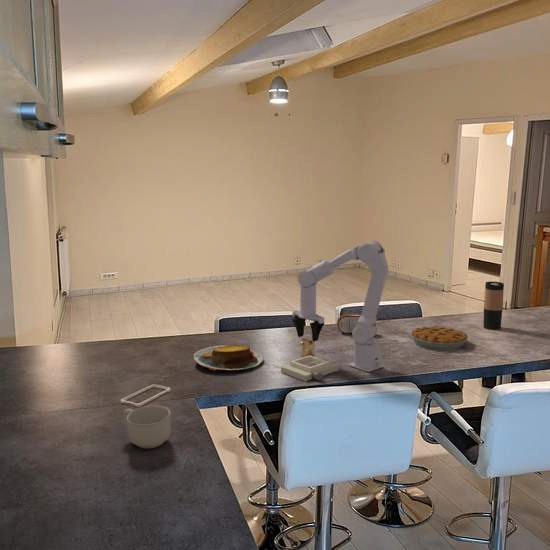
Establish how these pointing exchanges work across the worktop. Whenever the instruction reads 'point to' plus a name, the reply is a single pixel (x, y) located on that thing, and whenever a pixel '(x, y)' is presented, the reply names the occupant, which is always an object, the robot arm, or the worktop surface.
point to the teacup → (148, 425)
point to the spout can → (307, 347)
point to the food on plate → (227, 357)
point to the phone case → (143, 391)
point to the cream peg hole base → (309, 368)
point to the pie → (439, 338)
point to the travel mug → (493, 305)
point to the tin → (348, 322)
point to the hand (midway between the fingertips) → (307, 338)
